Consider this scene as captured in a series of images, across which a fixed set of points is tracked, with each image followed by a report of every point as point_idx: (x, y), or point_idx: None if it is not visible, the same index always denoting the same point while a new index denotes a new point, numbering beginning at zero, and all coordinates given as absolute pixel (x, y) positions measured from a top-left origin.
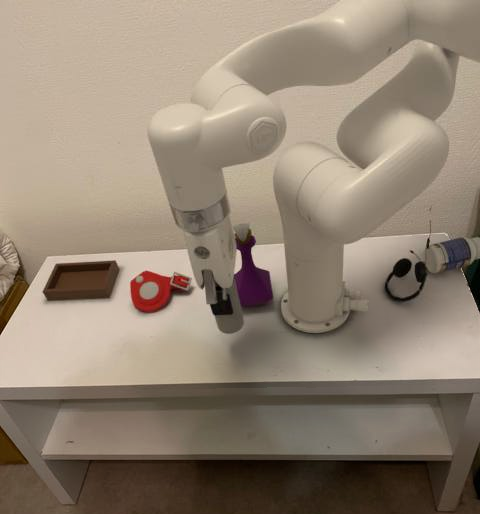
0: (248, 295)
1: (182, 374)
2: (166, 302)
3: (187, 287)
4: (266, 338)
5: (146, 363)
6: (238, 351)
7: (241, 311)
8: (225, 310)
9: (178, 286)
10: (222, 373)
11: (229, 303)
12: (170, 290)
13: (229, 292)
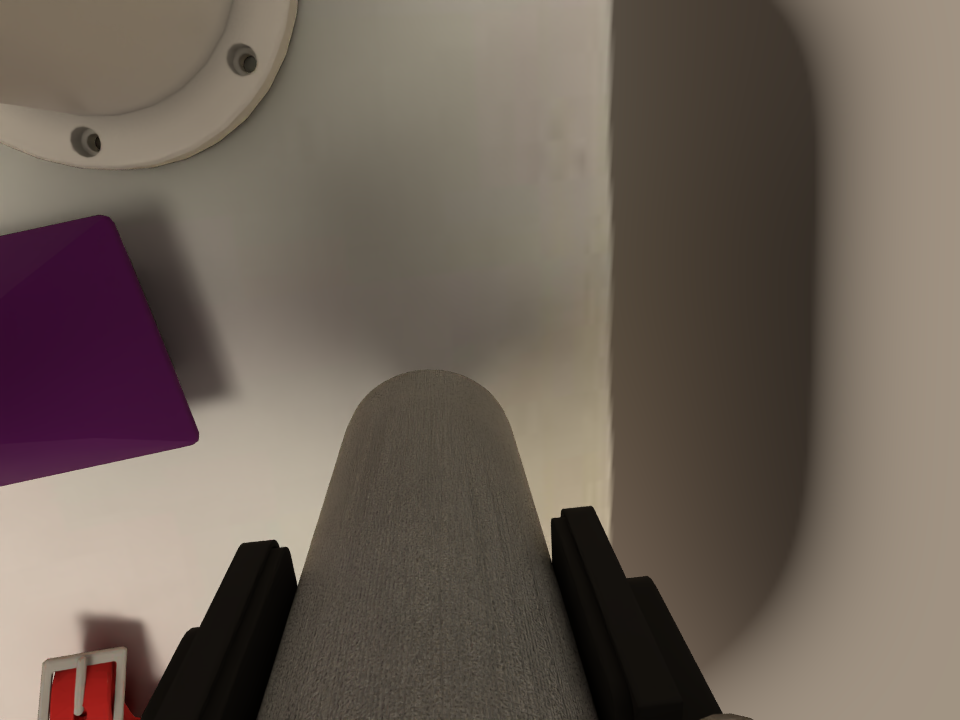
0: (129, 370)
1: None
2: None
3: (109, 658)
4: (360, 230)
5: None
6: (450, 353)
7: (425, 417)
8: (663, 607)
9: (119, 703)
10: (570, 400)
11: (634, 614)
12: None
13: (567, 694)
